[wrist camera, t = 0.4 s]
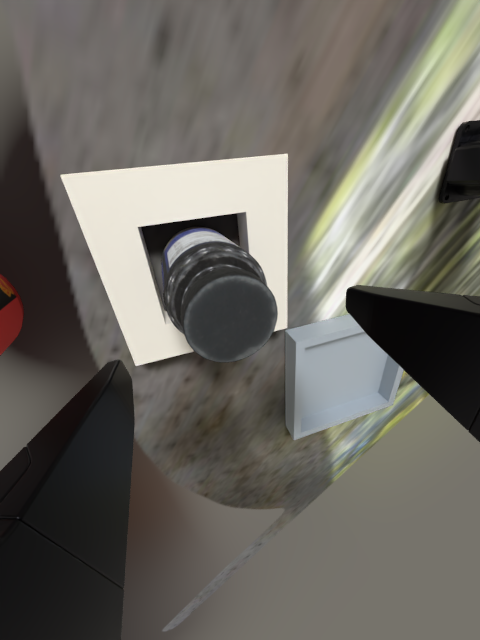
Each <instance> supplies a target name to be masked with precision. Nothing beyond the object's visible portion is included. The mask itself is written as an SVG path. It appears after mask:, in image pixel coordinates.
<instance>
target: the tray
mask: <svg viewBox="0 0 480 640" xmlns="http://www.w3.org/2000/svg"><path fill="white" fill-rule="evenodd" d="M403 371H404V370H403V369H402V368H401V367H400V366H399V365H398V364H397V363H396V362H395V361H394V360H393V359H392V358H391V357H390V356H389V355H388V354H387V353H385V352H384V351H383V350H382V349H381V348H380V347H379V346H378V345H377V344H376V343H375V342H374V341H373V340H372V339H371V338H370V337H369V336H368V335H367V334H366V333H365V331H364V330H363V329H362V328H361V327H360V326H359V324H358V323H357V322H356V321H355V320H354V319H353V317H352V316H351V315H350V314H348V315H344V316H340V317H336V318H332V319H328V320H324V321H320V322H316V323H312V324H308V325H304V326H300V327H296V328H292V329H288V330H285V425H286V427H287V429H288V431H289V432H290V434H291V436H292V438H293V440H296V439H299V438H301V437H304V436H307V435H310V434H313V433H315V432H318V431H321V430H324V429H327V428H329V427H332V426H335V425H338V424H341V423H344V422H346V421H349V420H352V419H355V418H358V417H360V416H363V415H366V414H369V413H372V412H374V411H377V410H380V409H383V408H386V407H389V406H391V405H393V403H394V399H395V396H396V393H397V390H398V387H399V383H400V380H401V377H402V374H403Z"/></svg>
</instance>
